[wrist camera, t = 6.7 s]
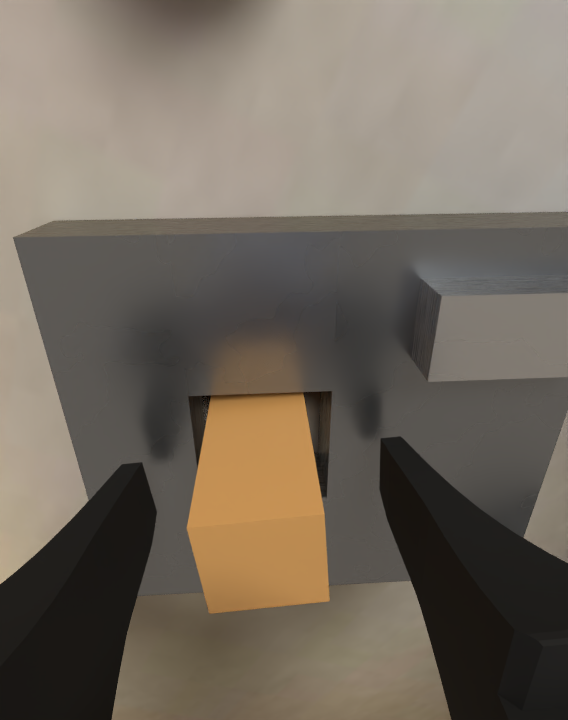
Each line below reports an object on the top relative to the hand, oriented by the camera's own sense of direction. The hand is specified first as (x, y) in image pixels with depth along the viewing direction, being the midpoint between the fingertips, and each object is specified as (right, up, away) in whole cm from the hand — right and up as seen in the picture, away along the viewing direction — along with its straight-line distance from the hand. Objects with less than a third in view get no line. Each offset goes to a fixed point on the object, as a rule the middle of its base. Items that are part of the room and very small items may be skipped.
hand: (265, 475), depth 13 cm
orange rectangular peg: (0, +2, +3) cm, 4 cm away
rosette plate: (+2, +2, +3) cm, 4 cm away
